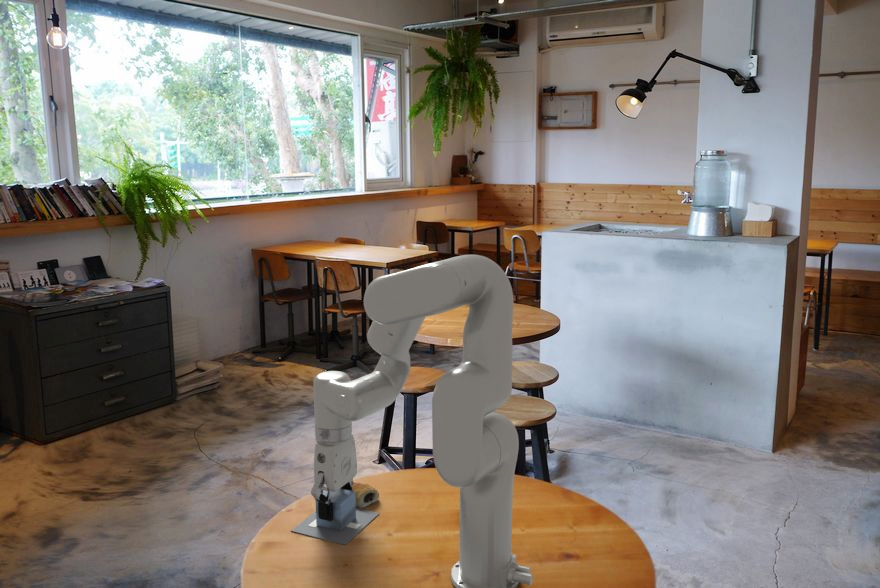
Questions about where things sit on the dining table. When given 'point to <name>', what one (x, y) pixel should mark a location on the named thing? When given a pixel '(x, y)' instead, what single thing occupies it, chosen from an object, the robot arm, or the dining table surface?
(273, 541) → the dining table surface
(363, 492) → the pastry
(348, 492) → the slate blue cube
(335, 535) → the board
